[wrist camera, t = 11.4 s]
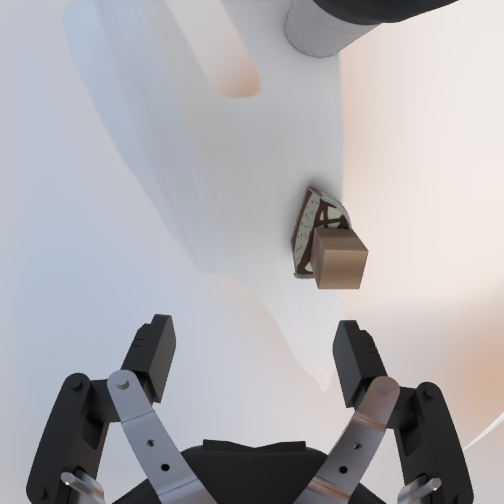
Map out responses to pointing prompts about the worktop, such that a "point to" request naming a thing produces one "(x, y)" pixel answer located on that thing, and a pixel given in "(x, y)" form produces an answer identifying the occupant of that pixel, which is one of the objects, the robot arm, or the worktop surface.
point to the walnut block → (337, 258)
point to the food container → (310, 216)
